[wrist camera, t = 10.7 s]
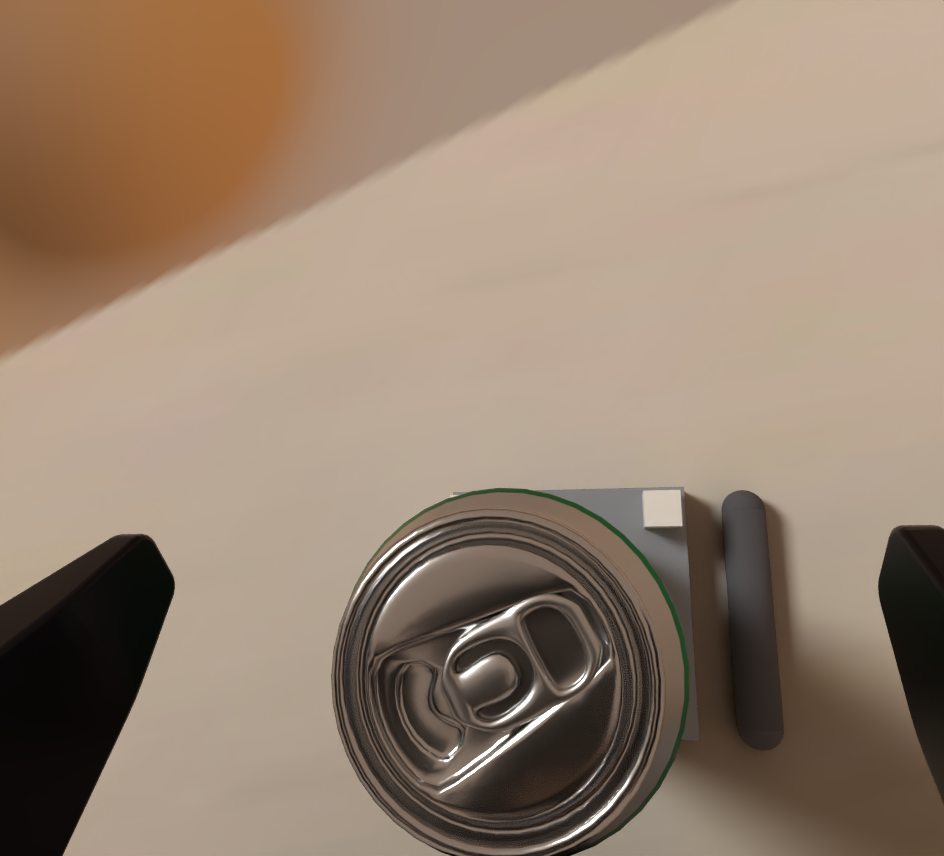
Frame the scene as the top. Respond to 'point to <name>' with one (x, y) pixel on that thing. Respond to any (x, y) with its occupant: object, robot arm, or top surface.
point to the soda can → (510, 676)
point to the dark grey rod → (752, 621)
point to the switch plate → (652, 551)
